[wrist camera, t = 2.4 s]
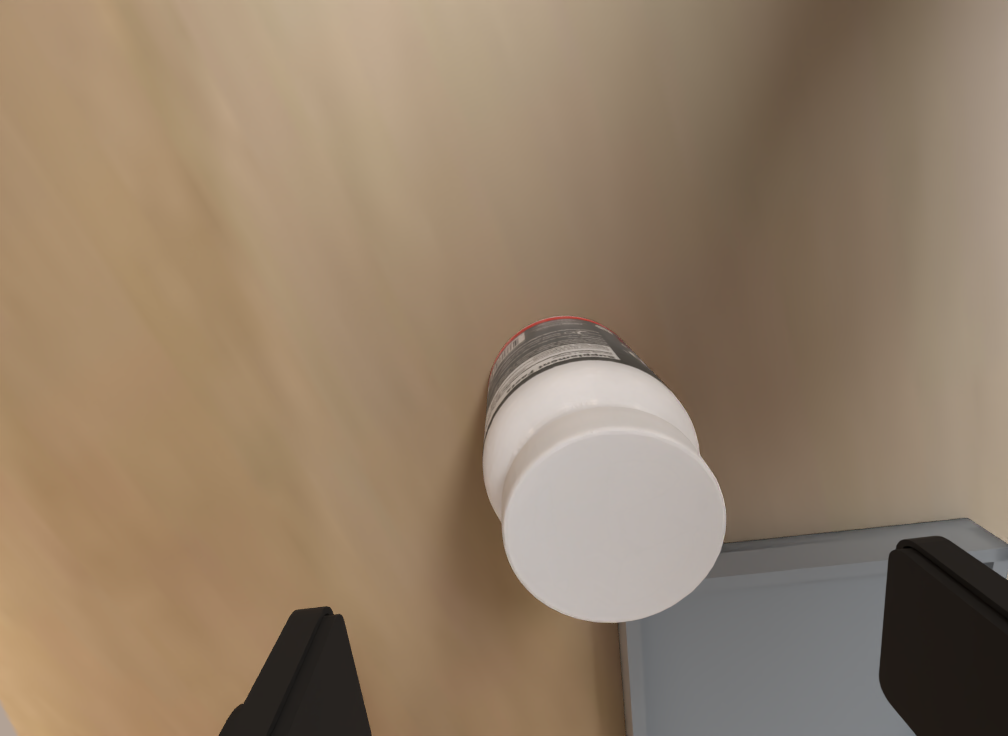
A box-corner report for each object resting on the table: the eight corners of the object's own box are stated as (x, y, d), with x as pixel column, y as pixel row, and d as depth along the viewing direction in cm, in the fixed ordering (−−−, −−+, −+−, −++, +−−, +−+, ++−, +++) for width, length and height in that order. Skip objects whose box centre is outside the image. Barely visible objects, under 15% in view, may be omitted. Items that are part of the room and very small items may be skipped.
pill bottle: (648, 429, 21) (772, 612, 11) (512, 467, 21) (521, 673, 12) (615, 292, 19) (727, 370, 10) (469, 336, 20) (438, 451, 10)
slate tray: (613, 555, 22) (623, 587, 20) (967, 517, 22) (1012, 547, 20) (631, 817, 27) (641, 863, 25) (926, 790, 26) (959, 835, 25)
